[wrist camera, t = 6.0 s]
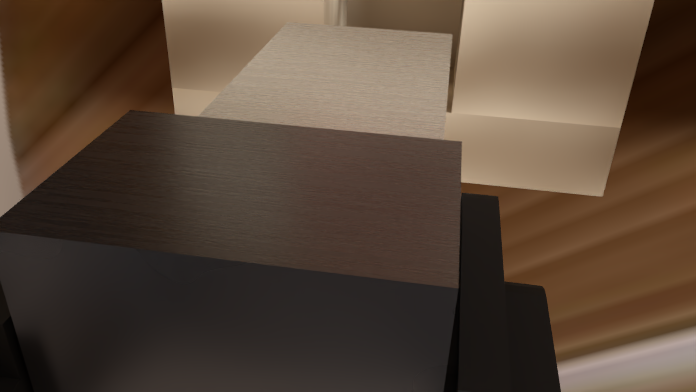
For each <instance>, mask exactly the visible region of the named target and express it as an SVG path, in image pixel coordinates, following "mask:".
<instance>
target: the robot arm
mask: <svg viewBox="0 0 696 392" xmlns="http://www.w3.org/2000/svg"><path fill="white" fill-rule="evenodd" d="M0 392H34V390H33V387H32V384H31V380H30V377H29V374H28V370H27V367H26V364H25V361H24V357H23V354H22V351H21V347H20V344H19V341H18V337H17V334H16V331H15V328H14V324H13V321H12V318H11V314H10V311H9V308H8V304H7V301H6V298H5V295H4V291H3V288H2V285H1V281H0ZM443 392H561V389H560V383H559V376H558V370H557V363H556V357H555V350H554V344H553V337H552V331H551V325H550V318H549V312H548V305H547V299H546V294H545V290H544V288H543V287H542V286H537V285H529V284H520V283H512V282H504V270H503V256H502V242H501V227H500V213H499V200H498V197H497V196H488V195H479V194H469V193H462V196H461V202H460V245H459V288H458V295H457V302H456V309H455V316H454V323H453V330H452V336H451V343H450V350H449V357H448V364H447V371H446V378H445V384H444V391H443Z"/></svg>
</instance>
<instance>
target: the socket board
mask: <svg viewBox="0 0 696 392" xmlns="http://www.w3.org/2000/svg"><path fill="white" fill-rule="evenodd" d="M653 4H654V0H162V5H163V14H164V22H165V31H166V40H167V48H168V57H169V65H170V74H171V83H172V91H173V100H174V109H175V114H177V115H187V116H199V115H200V114H201V113H202V112H203V111H204V109H205V108H206V107H207V106H208V105H209V104H210V103H211V102H212V101H213V100H214V99H215V98H216V97H217V96H218V95H219V94H220V93H221V92H222V91H223V89H224V88H225V87H226V86H227V85H228V84H229V83H230V82H231V81H232V80H233V79H234V78H235V77H236V76H237V75H238V74H239V73H240V72H241V71H242V69H243V68H244V67H245V66H246V65H247V64H248V63H249V62H250V61H251V60H252V59H253V58H254V57H255V56H256V55H257V54H258V53H259V52H260V51H261V49H262V48H263V47H264V46H265V45H266V44H267V43H268V42H269V41H270V40H271V39H272V38H273V37H274V36H275V35H276V34H277V33H278V32H279V31H280V29H281V28H282V27H283V26H284V25H285V24H286V23H287V22H295V23H309V24H322V25H336V26H350V27H363V28H377V29H390V30H404V31H417V32H431V33H444V34H453V35H452V48H451V60H450V72H449V84H448V97H447V109H446V121H445V133H444V140H451V141H462V160H461V182H465V183H475V184H485V185H495V186H504V187H514V188H524V189H534V190H543V191H553V192H563V193H572V194H582V195H592V196H603V193H604V189H605V185H606V181H607V177H608V174H609V170H610V166H611V162H612V159H613V155H614V151H615V147H616V143H617V140H618V136H619V132H620V128H621V125H622V121H623V117H624V113H625V110H626V106H627V102H628V98H629V94H630V91H631V87H632V83H633V79H634V76H635V72H636V68H637V64H638V60H639V57H640V53H641V49H642V45H643V42H644V38H645V34H646V30H647V27H648V23H649V19H650V15H651V11H652V8H653Z"/></svg>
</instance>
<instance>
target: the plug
mask: <svg viewBox="0 0 696 392" xmlns="http://www.w3.org/2000/svg"><path fill="white" fill-rule="evenodd" d="M452 35H453V34H444V33H431V32H417V31H404V30H390V29H377V28H363V27H350V26H336V25H322V24H309V23H295V22H287V23H286V24H285V25H284V26H283V27H282V28H281V29H280V31H279V32H278V33H277V34H276V35H275V36H274V37H273V38H272V39H271V40H270V41H269V42H268V43H267V44H266V45H265V46H264V47H263V48H262V49H261V51H260V52H259V53H258V54H257V55H256V56H255V57H254V58H253V59H252V60H251V61H250V62H249V63H248V64H247V65H246V66H245V67H244V68H243V69H242V71H241V72H240V73H239V74H238V75H237V76H236V77H235V78H234V79H233V80H232V81H231V82H230V83H229V84H228V85H227V86H226V87H225V88H224V89H223V91H222V92H221V93H220V94H219V95H218V96H217V97H216V98H215V99H214V100H213V101H212V102H211V103H210V104H209V105H208V106H207V107H206V108H205V109H204V111H203V112H202V113H201V114H200V115H199V116H187V115H177V114H166V113H155V112H145V111H134V110H130V111H129V112H127V113H126V114H125V115H124V116H123V117H121V118H120V119H119V120H118V121H117V122H115V123H114V124H113V125H112V126H110V127H109V128H108V129H107V130H106V131H104V132H103V133H102V134H101V135H100V136H98V137H97V138H96V139H95V140H93V141H92V142H91V143H90V144H89V145H87V146H86V147H85V148H84V149H83V150H81V151H80V152H79V153H78V154H76V155H75V156H74V157H73V158H72V159H70V160H69V161H68V162H67V163H66V164H64V165H63V166H62V167H61V168H59V169H58V170H57V171H56V172H55V173H53V174H52V175H51V176H50V177H49V178H47V179H46V180H45V181H44V182H42V183H41V184H40V185H39V186H38V187H36V188H35V189H34V190H33V191H32V192H30V193H29V194H28V195H27V196H26V197H24V198H23V199H22V200H21V201H19V202H18V203H17V204H16V205H15V206H14V207H12V208H11V209H10V210H9V211H7V212H6V213H5V214H4V215H2V216H1V217H0V281H1V285H2V288H3V291H4V295H5V298H6V301H7V304H8V308H9V311H10V314H11V318H12V321H13V324H14V328H15V331H16V334H17V337H18V341H19V344H20V347H21V351H22V354H23V357H24V361H25V364H26V367H27V370H28V374H29V377H30V380H31V384H32V387H33V390H34V392H443V391H444V384H445V378H446V371H447V364H448V357H449V350H450V343H451V336H452V330H453V323H454V316H455V309H456V302H457V295H458V288H459V245H460V202H461V160H462V141H451V140H444V133H445V121H446V109H447V97H448V84H449V72H450V60H451V48H452Z"/></svg>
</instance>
